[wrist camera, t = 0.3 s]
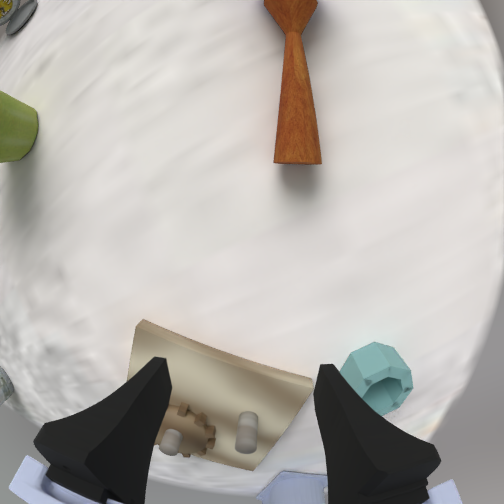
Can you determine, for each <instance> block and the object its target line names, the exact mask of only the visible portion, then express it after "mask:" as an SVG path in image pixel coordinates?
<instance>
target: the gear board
mask: <svg viewBox="0 0 504 504" xmlns="http://www.w3.org/2000/svg"><path fill="white" fill-rule="evenodd" d="M154 356H155V357H162V358H166V359H167V364H168V369H169V374H170V378H171V383H172V392H171V396H170V401H169V405H168V408H167V410H166V413H165V416H164V418H163V421H162V424H161V426H160V429H159V432H158V435H157V437H156V440H155V443H154V445H156V444H158V445H159V449H160V451H161V452H163V453H164V454H166V455H170V456H175V455H177V453H182V455H183V457H189V458H190V455H194V456H197V457H200V458H203V459H206V460H210V461H213V462H217V463H221V464H224V465H228V466H232V467H236V468H241V469H245V470H250V471H254V469H255V468H256V467H257V466H258V465H259V463H260V462H261V461H262V460H263V459H264V457H265V456H266V455H267V454H268V452H269V451H270V450H271V448H272V447H273V446H274V445H275V443H276V442H277V441H278V439H279V438H280V437H281V435H282V434H283V433H284V431H285V430H286V429H287V427H288V426H289V424H290V423H291V422H292V420H293V419H294V417H295V416H296V414H297V413H298V412H299V410H300V409H301V407H302V406H303V404H304V403H305V401H306V400H307V398H308V397H309V395H310V394H311V392H312V390H313V389H314V387H313V383H312V379H311V378H308V377H304V376H300V375H296V374H293V373H289V372H286V371H282V370H279V369H275V368H272V367H269V366H265V365H262V364H259V363H256V362H253V361H250V360H246V359H243V358H240V357H238V356H235V355H232V354H229V353H226V352H223V351H220V350H218V349H215V348H212V347H209V346H207V345H204V344H201V343H199V342H196V341H194V340H191V339H189V338H186V337H184V336H181V335H179V334H176V333H174V332H172V331H169V330H167V329H164V328H162V327H160V326H158V325H155V324H153V323H151V322H148V321H146V320H144V319H142V320H141V321H140V323H139V324H138V325H137V326H136V329H135V334H134V339H133V345H132V351H131V357H130V363H129V370H128V377H127V381H128V380H129V379H131V378H132V377H133V376H134V375H135V374H136V373H137V372H138V371H139V370H140V369H141V368H143V367H144V366H145V365H146V364H147V363H148V362H149V361H150V360H151V359H152V358H153V357H154Z"/></svg>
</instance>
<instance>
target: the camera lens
mask: <svg viewBox="0 0 504 504" xmlns="http://www.w3.org/2000/svg"><path fill="white" fill-rule="evenodd" d="M13 391H14V388H13V385H12V383H11V380H10V379H9V377H8V375H7V374H6V373H5V371H4V370H3V369H2V368H1V367H0V405H1V404H3V403H4V402H5V401H6V400H7V399H8V398H9V397H10V395H11V394H12V392H13Z"/></svg>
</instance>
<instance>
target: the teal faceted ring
mask: <svg viewBox="0 0 504 504" xmlns="http://www.w3.org/2000/svg"><path fill="white" fill-rule="evenodd" d="M340 373H341V375H342V376H343V377H344V378H345V380H346V381H347V382H348V383H349V385H350V386H351V387H352V388H353V389H354V390H355V391H356V393H357V394H358V395H359V396H360V397H361V398H362V399H363V400H364V401H365V402H366V403H367V404H368V405H369V406H370V407H371V408H372V409H373V410H374V411H375V412H377V413H378V414H379V415H380V416H383V415H385V414H387V413H389V412H391V411H393V410H395V409H397V408H399V407H400V405H401V404H402V403H403V401H404V400H405V399H406V397H407V396H408V395H409V393H410V392H411V391H412V389H413V382H412V375H411V370H410V369H409V367H408V366H407V365H406V363H405V362H404V361H403V359H402V358H401V357H400V355H399V354H398V353H397V351H396V350H395V349H394V348H393V347H390V346H387V345H383V344H380V343H376V342H373V343H371V344H369V345H367V346H365V347H363V348H361V349H358V350H356V351H354V352H352V353H351V354H350V356H349V357H348V359H347V361H346V362H345V364H344V366H343V367H342V369H341V370H340Z"/></svg>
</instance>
